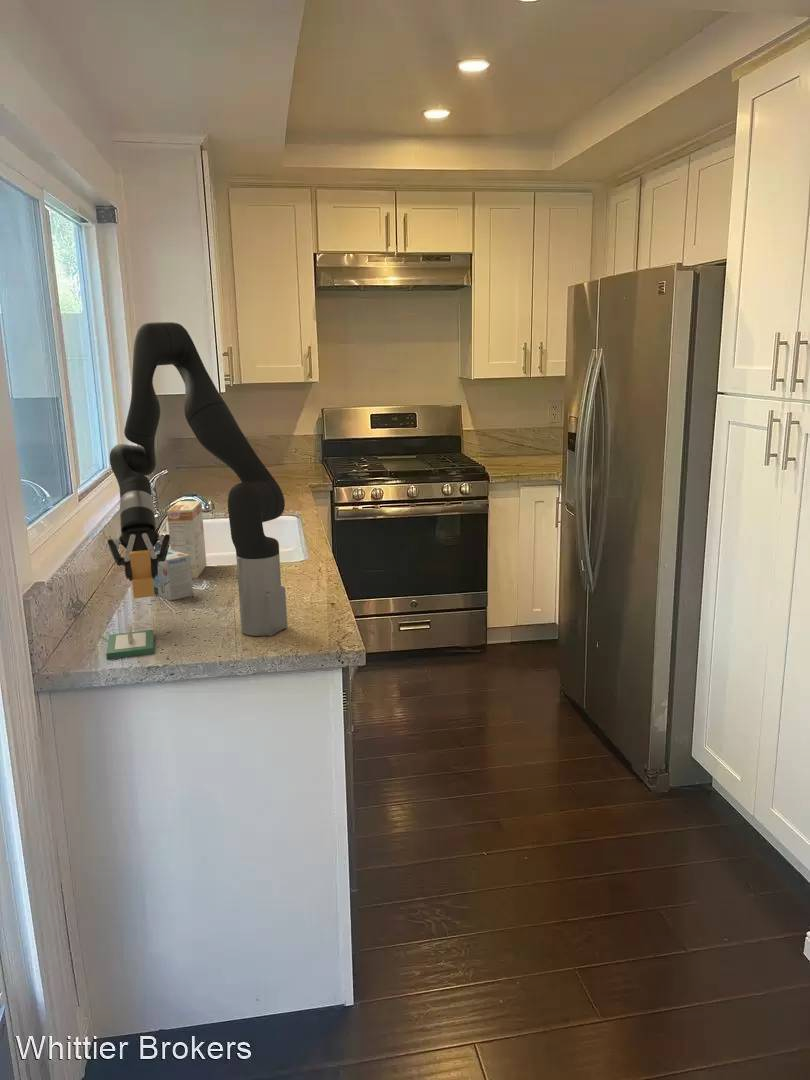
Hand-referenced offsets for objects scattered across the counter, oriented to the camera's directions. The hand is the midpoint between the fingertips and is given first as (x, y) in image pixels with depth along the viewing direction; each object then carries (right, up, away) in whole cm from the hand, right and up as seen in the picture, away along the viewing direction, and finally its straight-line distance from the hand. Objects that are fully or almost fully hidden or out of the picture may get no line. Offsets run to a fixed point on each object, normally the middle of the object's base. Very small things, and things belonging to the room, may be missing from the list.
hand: (142, 577), depth 170 cm
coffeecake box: (-4, -1, +51) cm, 51 cm away
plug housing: (-1, -3, +4) cm, 5 cm away
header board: (0, -14, -8) cm, 16 cm away
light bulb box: (-2, -6, +30) cm, 30 cm away
